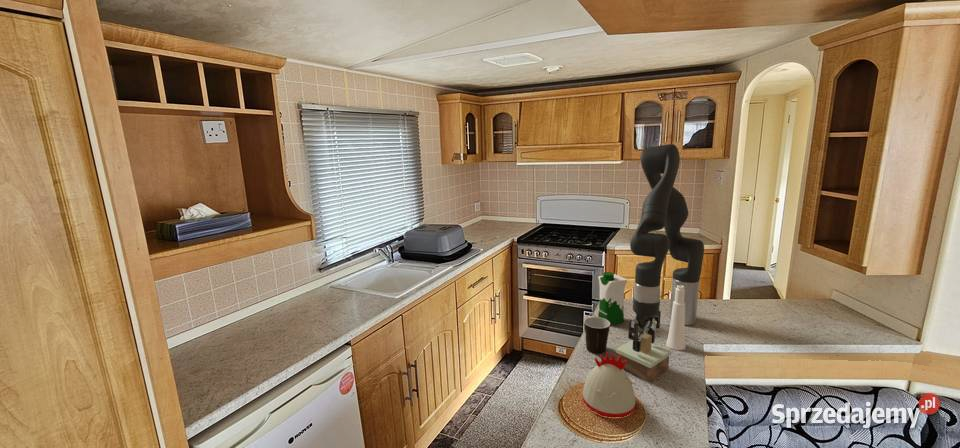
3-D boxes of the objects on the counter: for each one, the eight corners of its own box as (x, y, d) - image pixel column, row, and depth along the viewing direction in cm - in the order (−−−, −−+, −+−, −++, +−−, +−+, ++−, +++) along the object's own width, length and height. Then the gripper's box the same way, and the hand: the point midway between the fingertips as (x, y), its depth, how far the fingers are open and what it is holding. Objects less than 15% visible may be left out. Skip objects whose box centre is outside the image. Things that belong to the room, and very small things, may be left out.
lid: (636, 340, 131) (637, 323, 130) (670, 354, 122) (672, 336, 121) (615, 352, 124) (616, 334, 123) (650, 368, 115) (651, 349, 114)
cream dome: (634, 424, 100) (637, 371, 97) (579, 412, 105) (580, 361, 102) (635, 392, 113) (637, 344, 110) (585, 382, 118) (587, 336, 115)
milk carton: (594, 318, 159) (596, 271, 155) (612, 314, 162) (614, 267, 158) (609, 327, 151) (611, 278, 147) (627, 322, 154) (630, 274, 150)
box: (636, 354, 132) (636, 341, 131) (668, 369, 123) (669, 354, 122) (616, 366, 125) (617, 352, 124) (649, 382, 117) (650, 367, 116)
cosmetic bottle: (689, 350, 133) (694, 289, 129) (671, 350, 133) (676, 289, 129) (679, 341, 139) (684, 282, 135) (663, 341, 139) (667, 283, 135)
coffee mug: (589, 340, 142) (590, 314, 140) (612, 347, 137) (614, 321, 134) (575, 354, 133) (575, 327, 131) (599, 362, 128) (600, 334, 126)
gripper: (647, 288, 126) (644, 334, 130) (621, 299, 118) (619, 349, 121) (670, 294, 120) (667, 343, 124) (645, 307, 112) (641, 359, 115)
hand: (643, 346), depth 123 cm, fingers open, 7 cm apart
